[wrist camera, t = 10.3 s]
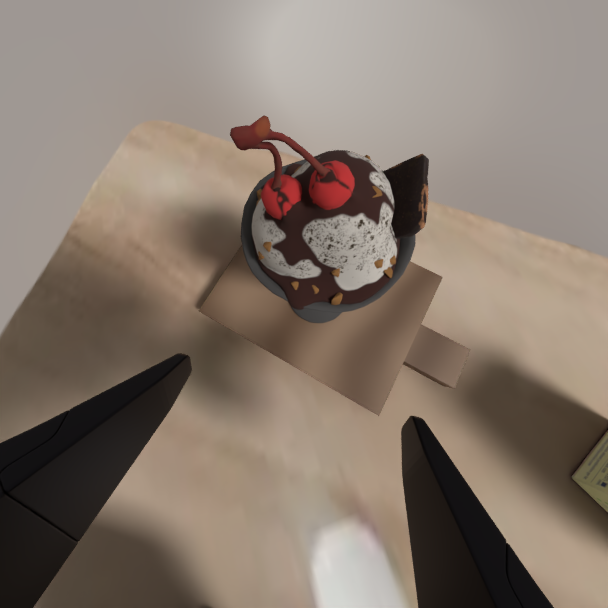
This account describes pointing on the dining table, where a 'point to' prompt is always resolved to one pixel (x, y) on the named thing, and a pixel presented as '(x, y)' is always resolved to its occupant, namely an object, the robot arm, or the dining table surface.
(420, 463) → the robot arm
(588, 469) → the box
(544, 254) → the dining table surface
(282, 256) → the sundae
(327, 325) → the board
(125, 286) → the dining table surface
